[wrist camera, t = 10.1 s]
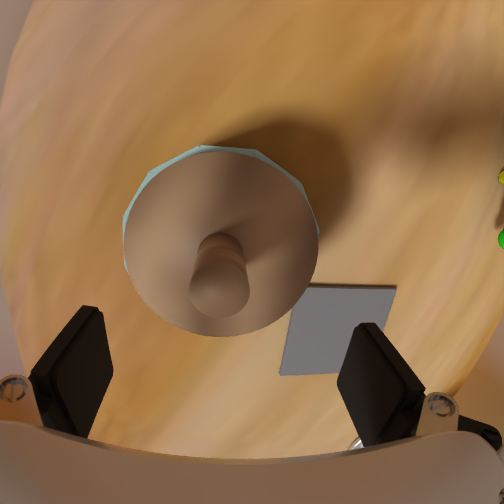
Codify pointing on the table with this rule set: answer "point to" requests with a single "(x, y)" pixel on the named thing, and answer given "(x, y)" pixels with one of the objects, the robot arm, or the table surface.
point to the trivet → (330, 325)
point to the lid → (220, 244)
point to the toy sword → (503, 235)
